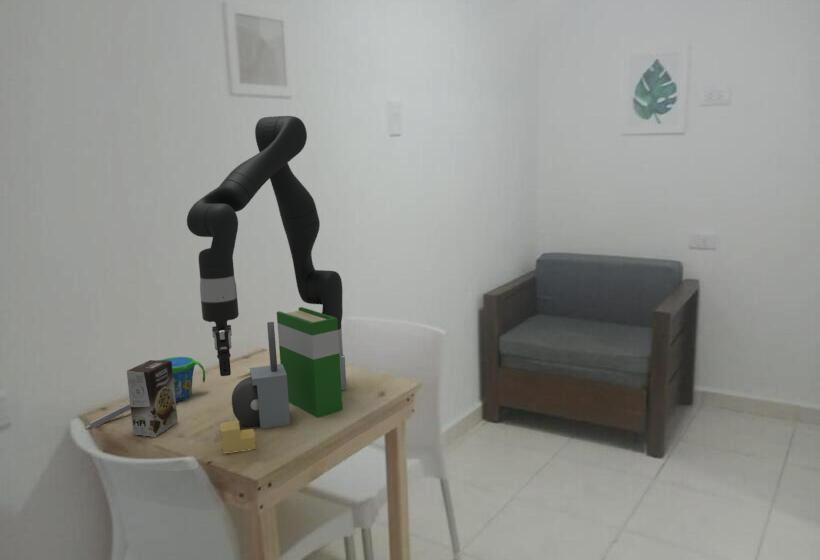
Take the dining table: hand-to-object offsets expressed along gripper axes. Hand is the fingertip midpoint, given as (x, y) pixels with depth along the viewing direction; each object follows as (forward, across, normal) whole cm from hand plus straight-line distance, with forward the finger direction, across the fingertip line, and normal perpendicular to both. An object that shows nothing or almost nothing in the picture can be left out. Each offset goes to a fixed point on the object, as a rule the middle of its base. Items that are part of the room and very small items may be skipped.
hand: (225, 369), depth 145 cm
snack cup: (+18, +39, +14) cm, 45 cm away
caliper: (+19, +30, +25) cm, 43 cm away
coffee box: (+18, +18, +17) cm, 31 cm away
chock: (+18, 0, -2) cm, 18 cm away
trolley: (+18, +13, -7) cm, 24 cm away
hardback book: (+18, +20, -21) cm, 34 cm away
